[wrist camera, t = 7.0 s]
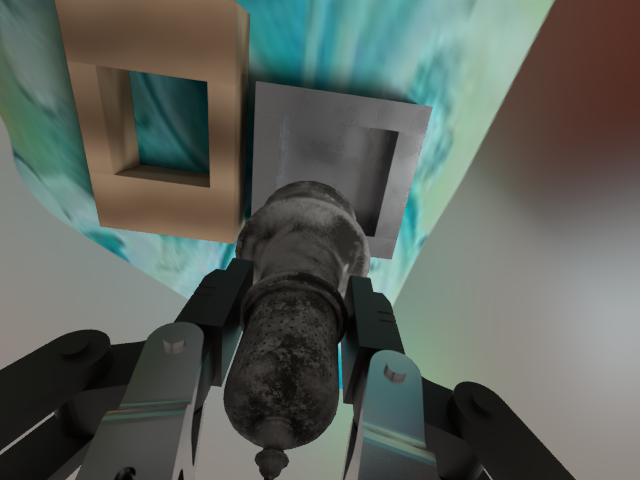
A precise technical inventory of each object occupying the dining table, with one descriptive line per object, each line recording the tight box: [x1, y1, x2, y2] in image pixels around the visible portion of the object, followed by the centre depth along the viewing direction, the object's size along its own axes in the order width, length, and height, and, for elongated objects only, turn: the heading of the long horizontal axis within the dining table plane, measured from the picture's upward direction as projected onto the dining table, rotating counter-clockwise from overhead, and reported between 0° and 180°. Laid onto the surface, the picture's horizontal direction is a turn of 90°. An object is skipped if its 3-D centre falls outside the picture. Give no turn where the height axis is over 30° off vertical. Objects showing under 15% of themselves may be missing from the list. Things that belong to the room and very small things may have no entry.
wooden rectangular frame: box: [55, 0, 250, 244], centre depth 26 cm, size 18×12×4 cm, turn 173°
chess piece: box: [224, 181, 371, 480], centre depth 11 cm, size 6×6×12 cm
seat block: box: [251, 81, 432, 259], centre depth 27 cm, size 13×13×4 cm
